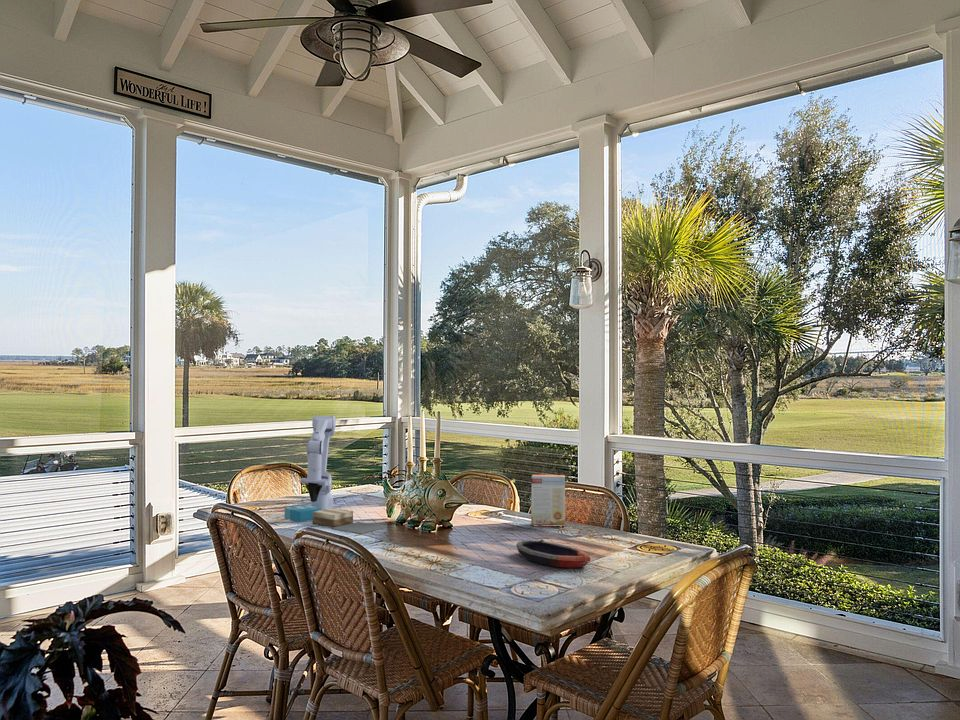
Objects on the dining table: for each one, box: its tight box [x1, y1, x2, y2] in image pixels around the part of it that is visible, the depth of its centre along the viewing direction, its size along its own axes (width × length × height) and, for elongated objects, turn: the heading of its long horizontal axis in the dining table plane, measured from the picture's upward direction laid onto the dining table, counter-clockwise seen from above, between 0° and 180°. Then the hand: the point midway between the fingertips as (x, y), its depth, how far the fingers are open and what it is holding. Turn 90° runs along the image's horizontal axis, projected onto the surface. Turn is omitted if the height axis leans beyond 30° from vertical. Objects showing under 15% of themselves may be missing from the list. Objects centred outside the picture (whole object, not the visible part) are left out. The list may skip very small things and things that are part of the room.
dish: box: [515, 539, 591, 569], centre depth 248 cm, size 16×31×5 cm, turn 40°
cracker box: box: [530, 474, 566, 526], centre depth 307 cm, size 14×6×21 cm, turn 84°
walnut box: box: [312, 515, 354, 528], centre depth 304 cm, size 11×12×3 cm
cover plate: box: [313, 507, 354, 520], centre depth 304 cm, size 11×12×2 cm
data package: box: [283, 504, 321, 523], centre depth 313 cm, size 12×4×12 cm
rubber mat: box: [330, 521, 389, 535], centre depth 296 cm, size 16×16×1 cm
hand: (313, 501), depth 310 cm, fingers closed
